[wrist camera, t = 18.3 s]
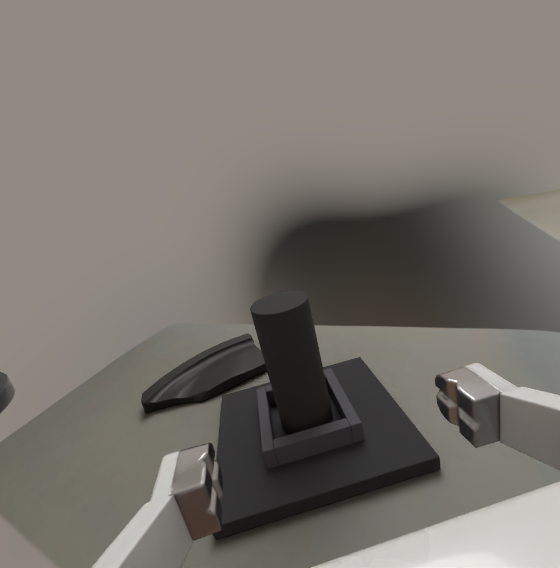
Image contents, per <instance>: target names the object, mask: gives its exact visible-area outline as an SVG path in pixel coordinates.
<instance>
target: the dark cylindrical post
mask: <svg viewBox="0 0 560 568" xmlns="http://www.w3.org/2000/svg"><path fill="white" fill-rule="evenodd" d="M250 310H251V314H252V318H253V321H254V325H255V329H256V332H257V336H258V340H259V343H260V347H261V350H262V354H263V358H264V361H265V365H266V369H267V372H268V376H269V380H270V383H271V387H272V391H273V394H274V398H275V401H276V405H277V409H278V412H279V416H280V420H281V423H282V427H283V430H284V431H285V433H286V434H287V435H290V434H293V433H297V432H300V431H304V430H307V429H310V428H314V427H317V426H321V425H324V424H327V423H331V422H332V420H333V414H332V409H331V404H330V400H329V395H328V390H327V385H326V381H325V376H324V371H323V366H322V362H321V357H320V352H319V347H318V342H317V338H316V333H315V328H314V323H313V319H312V315H311V309H310V305H309V300H308V296H307V294H306V293H304V292H301V291H284V292H278V293H274V294H271V295H268V296H265V297H263V298H261V299H259V300H257V301H256V302H255V303H253V305H252V306H251V308H250Z"/></svg>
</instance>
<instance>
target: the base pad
mask: <svg viewBox="0 0 560 568" xmlns="http://www.w3.org/2000/svg"><path fill="white" fill-rule="evenodd" d="M323 371H324V376H325V381H326V385H327V390H328V395H329V400H330V404H331V409H332V414H333V420H332V422H331V423H327V424H324V425H321V426H317V427H314V428H310V429H307V430H304V431H300V432H297V433H293V434H290V435H287V434H286V433H285V431H284V430H283V427H282V423H281V420H280V416H279V412H278V409H277V405H276V401H275V398H274V394H273V391H272V387H271V383H266V384H263V385H259V386H255V387H252V388H248V389H245V390H241V391H238V392H234V393H230V394H227V395H223V396H222V404H221V416H220V427H219V439H218V450H217V461H218V462H219V465H220V468H221V472H222V478H223V495H222V497H221V498H220V503H221V506H222V527H221V531H219V532H216V533H213V535H214V537H215V539H219V538H222V537H225V536H229V535H232V534H235V533H238V532H241V531H244V530H248V529H251V528H254V527H257V526H260V525H263V524H267V523H270V522H273V521H276V520H279V519H283V518H286V517H289V516H292V515H295V514H298V513H302V512H305V511H308V510H311V509H314V508H317V507H321V506H324V505H327V504H330V503H333V502H336V501H340V500H343V499H346V498H349V497H352V496H356V495H359V494H362V493H365V492H368V491H371V490H375V489H378V488H381V487H384V486H387V485H390V484H394V483H397V482H400V481H403V480H406V479H409V478H413V477H416V476H419V475H422V474H425V473H429V472H432V471H435V470H438V469H440V459H439V456H438V454H437V453H436V452H435V451H434V449H433V448H432V447H431V446H430V444H429V443H428V442H427V441H426V439H425V438H424V437H423V436H422V434H421V433H420V432H419V431H418V429H417V428H416V427H415V426H414V424H413V423H412V422H411V421H410V419H409V418H408V417H407V415H406V414H405V413H404V412H403V410H402V409H401V408H400V407H399V405H398V404H397V403H396V402H395V400H394V399H393V398H392V397H391V395H390V394H389V393H388V392H387V390H386V389H385V388H384V387H383V385H382V384H381V383H380V382H379V380H378V379H377V378H376V377H375V375H374V374H373V373H372V372H371V370H370V369H369V368H368V366H367V365H366V364H365V363H364V361H363V360H362V359H361V358H360V357H359V358H355V359H351V360H348V361H344V362H341V363H337V364H334V365H330V366H327V367H323Z"/></svg>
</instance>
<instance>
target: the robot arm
mask: <svg viewBox="0 0 560 568" xmlns="http://www.w3.org/2000/svg"><path fill="white" fill-rule="evenodd" d="M435 384H436V386H437V387H438V388H439V389H440V390H439V392H438V394H437V404H438V406H439V409H440V411H441V413H442V414H443V416H444V417H445V418H446V419H447V420H448V421H449V422H450V423H452V424H454V425H457V426H459V429H460V433H461V434H462V435H463V436H464V437H465V438H466V439H467V440H468V441H469V442H470V443H471V444H472V445H473V446H474V447H475V448H477V447H480V446H484V445H487V444H491V443H494V442H498V441H500V442H501V443H503V444H505V445H507V446H509V447H512V448H514V449H516V450H518V451H520V452H522V453H524V454H526V455H528V456H531V457H533V458H535V459H537V460H539V461H541V462H543V463H545V464H547V465H550V466H552V467H554V468H556V469H558V470H560V395H555V394H551V393H547V392H543V391H539V390H535V389H530V388H526V387H520V388H518V387H516V386H515V385H513V384H511V383H510V382H508V381H507V380H505V379H503V378H502V377H500V376H499V375H497V374H495V373H494V372H492V371H490V370H489V369H487V368H486V367H484V366H482V365H481V364H478V363H473V364H470V365H467V366H464V367H462V368H459V369H455V370H452V371H449V372H445V373H442V374H439V375H436V378H435ZM214 457H215V451H214V448H213V445H212V444H211V443H206V444H203V445H199V446H195V447H191V448H188V449H184V450H181V451H178V452H174V453H171V454H167V455H165V456H164V457H163V459H162V462H161V466H160V469H159V472H158V476H157V479H156V483H155V486H154V489H153V493H152V496H151V500H150V502H148V503H145V504H144V505H143V507H142V508H141V509H140V510H139V511H138V513H137V514H136V515H135V516H134V517H133V518H132V520H131V521H130V522H129V523H128V524H127V526H126V527H125V528H124V529H123V530H122V532H121V533H120V534H119V535H118V536H117V538H116V539H115V540H114V541H113V542H112V544H111V545H110V546H109V547H108V548H107V549H106V551H105V552H104V553H103V554H102V555H101V557H100V558H99V559H98V560H97V561H96V563H95V564H94V565H93V566H92V567H91V568H181V566H182V564H183V562H184V560H185V558H186V556H187V554H188V552H189V550H190V548H191V546H192V544H193V541H194V540H196V539H199V538H202V537H205V536H207V535H210V534H213V533H216V532H219V531H221V527H222V506H221V503H220V498H221V497H222V495H223V478H222V472H221V468H220V465H219V462H218V461H216V460H214ZM310 568H560V481H559V482H556V483H553V484H550V485H547V486H545V487H542V488H539V489H536V490H533V491H530V492H527V493H524V494H521V495H519V496H516V497H513V498H510V499H507V500H504V501H501V502H498V503H495V504H493V505H490V506H487V507H484V508H481V509H478V510H475V511H472V512H470V513H467V514H464V515H461V516H458V517H455V518H452V519H449V520H446V521H444V522H441V523H438V524H435V525H432V526H429V527H426V528H423V529H420V530H418V531H415V532H412V533H409V534H406V535H403V536H400V537H397V538H394V539H391V540H389V541H386V542H383V543H380V544H377V545H374V546H371V547H368V548H365V549H363V550H360V551H357V552H354V553H351V554H348V555H345V556H342V557H339V558H336V559H334V560H331V561H328V562H325V563H322V564H319V565H316V566H313V567H310Z"/></svg>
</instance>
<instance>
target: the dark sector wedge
mask: <svg viewBox="0 0 560 568" xmlns="http://www.w3.org/2000/svg"><path fill="white" fill-rule="evenodd" d="M266 370H267V369H266V365H265V361H264V358H263V354H262V351H261V350H260V349H258V348H257V347H256V346H255V345H254V341H253V339H252V336H251V335H250V334H245V335H242V336H239V337H236V338H233V339H230V340H228V341H225V342H223V343H221V344H218V345H216V346H214V347H212V348H210V349H207V350H205V351H204V352H202V353H200V354H198V355H196V356H194V357H193V358H191V359H189V360H187V361H186V362H184V363H183V364H181V365H180V366H178V367H176V368H175V369H173V370H172V371H171V372H169V373H168V374H166V375H165V376H163V377H162V378H161V379H159V380H158V381H157V382H156V383H154V384H153V385H152V386H151V387H149V388H148V389H147V390H146V391H145V392H144V393H142V399H141V402H142V405H143V407H144V411H145V413H149V412H152V411H155V410H159V409H162V408H166V407H169V406H173V405H177V404H184V403H191V402H201V401H204V400H206V399H208V398H210V397H213V396H215V395H217V394H219V393H221V392H223V391H225V390H227V389H229V388H231V387H233V386H235V385H237V384H239V383H241V382H243V381H245V380H247V379H249V378H251V377H253V376H255V375H257V374H259V373H261V372H263V371H266Z"/></svg>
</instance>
